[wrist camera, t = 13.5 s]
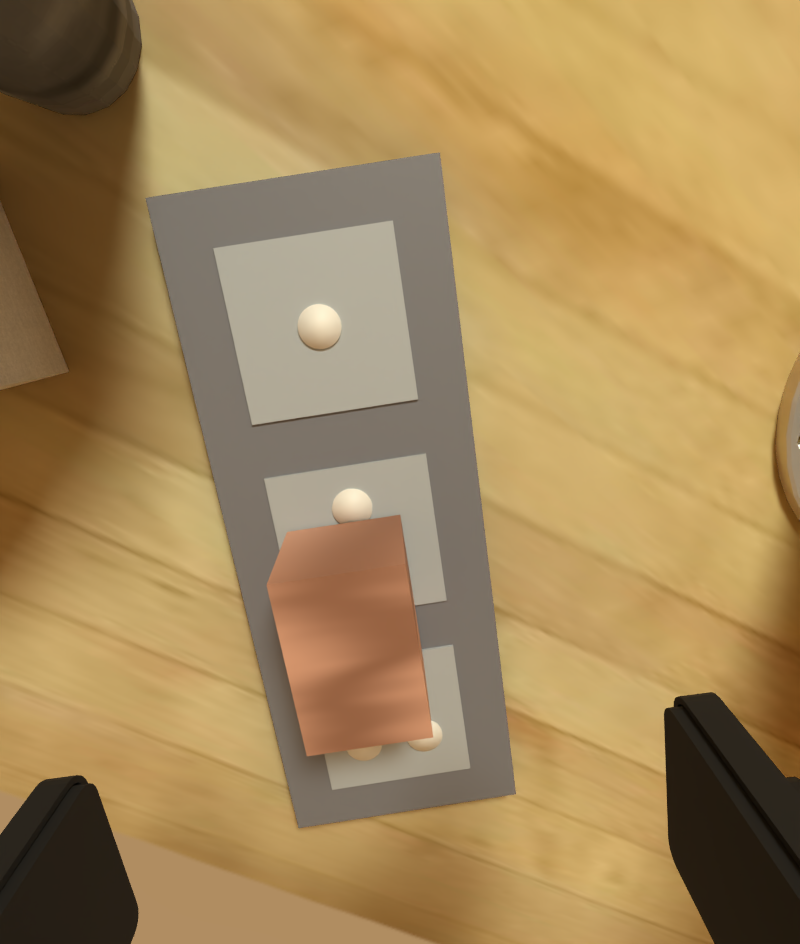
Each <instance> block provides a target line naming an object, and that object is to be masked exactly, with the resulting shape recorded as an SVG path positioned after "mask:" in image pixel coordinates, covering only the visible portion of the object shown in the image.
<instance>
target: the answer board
mask: <svg viewBox="0 0 800 944" xmlns="http://www.w3.org/2000/svg"><path fill="white" fill-rule="evenodd" d="M146 202H147V206H148V210H149V214H150V219H151V223H152V227H153V231H154V235H155V239H156V243H157V247H158V251H159V256H160V260H161V264H162V268H163V272H164V276H165V280H166V284H167V288H168V293H169V297H170V301H171V305H172V309H173V313H174V317H175V321H176V325H177V330H178V334H179V338H180V342H181V346H182V350H183V354H184V358H185V362H186V367H187V371H188V375H189V379H190V383H191V387H192V391H193V395H194V399H195V404H196V408H197V412H198V416H199V420H200V424H201V428H202V432H203V436H204V441H205V445H206V449H207V453H208V457H209V461H210V465H211V469H212V473H213V478H214V482H215V486H216V490H217V494H218V498H219V502H220V506H221V510H222V515H223V519H224V523H225V527H226V531H227V535H228V539H229V543H230V547H231V552H232V556H233V560H234V564H235V568H236V572H237V576H238V580H239V584H240V589H241V593H242V597H243V601H244V605H245V609H246V613H247V617H248V622H249V626H250V630H251V634H252V638H253V642H254V646H255V650H256V654H257V659H258V663H259V667H260V671H261V675H262V679H263V683H264V687H265V691H266V696H267V700H268V704H269V708H270V712H271V716H272V720H273V724H274V728H275V733H276V737H277V741H278V745H279V749H280V753H281V757H282V761H283V765H284V770H285V774H286V778H287V782H288V786H289V790H290V794H291V798H292V802H293V807H294V811H295V815H296V819H297V823H298V827H299V828H303V827H309V826H316V825H322V824H328V823H335V822H341V821H347V820H354V819H360V818H367V817H373V816H379V815H386V814H392V813H398V812H405V811H411V810H418V809H424V808H430V807H437V806H443V805H450V804H456V803H462V802H469V801H475V800H481V799H488V798H494V797H501V796H507V795H513V794H516V791H515V782H514V774H513V765H512V757H511V749H510V740H509V732H508V723H507V715H506V707H505V698H504V690H503V681H502V673H501V664H500V656H499V648H498V639H497V631H496V622H495V614H494V605H493V597H492V589H491V580H490V572H489V563H488V555H487V546H486V538H485V530H484V521H483V513H482V504H481V496H480V487H479V479H478V471H477V462H476V454H475V445H474V437H473V428H472V420H471V412H470V403H469V395H468V386H467V378H466V370H465V361H464V353H463V344H462V336H461V327H460V319H459V311H458V302H457V294H456V285H455V277H454V268H453V260H452V252H451V243H450V235H449V226H448V218H447V209H446V201H445V193H444V184H443V176H442V167H441V159H440V153H433V154H427V155H420V156H414V157H407V158H401V159H394V160H388V161H381V162H375V163H368V164H362V165H355V166H349V167H343V168H336V169H330V170H323V171H317V172H310V173H304V174H297V175H291V176H284V177H278V178H271V179H265V180H259V181H252V182H246V183H239V184H233V185H226V186H220V187H213V188H207V189H200V190H194V191H187V192H181V193H174V194H168V195H162V196H155V197H149V198H146ZM394 515H400V516H401V522H402V528H403V534H404V541H405V547H406V553H407V560H408V566H409V572H410V579H411V585H412V591H413V597H414V604H415V610H416V616H417V623H418V629H419V635H420V641H421V648H422V654H423V660H424V668H425V676H426V684H427V692H428V700H429V707H430V715H431V723H432V731H433V738H426V739H420V740H413V741H406V742H400V743H393V744H386V745H380V746H373V747H366V748H360V749H353V750H346V751H340V752H333V753H326V754H320V755H313V756H307V755H306V750H305V746H304V742H303V738H302V733H301V729H300V725H299V721H298V717H297V712H296V708H295V704H294V700H293V695H292V691H291V687H290V683H289V678H288V674H287V670H286V666H285V661H284V657H283V653H282V649H281V645H280V640H279V636H278V632H277V628H276V623H275V619H274V615H273V611H272V606H271V602H270V598H269V594H268V589H267V582H268V580H269V577H270V575H271V572H272V569H273V567H274V564H275V562H276V559H277V556H278V554H279V551H280V549H281V546H282V544H283V541H284V538H285V536H286V533H287V532H290V531H296V530H303V529H309V528H316V527H322V526H329V525H336V524H342V523H349V522H355V521H362V520H368V519H375V518H381V517H388V516H394Z"/></svg>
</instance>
